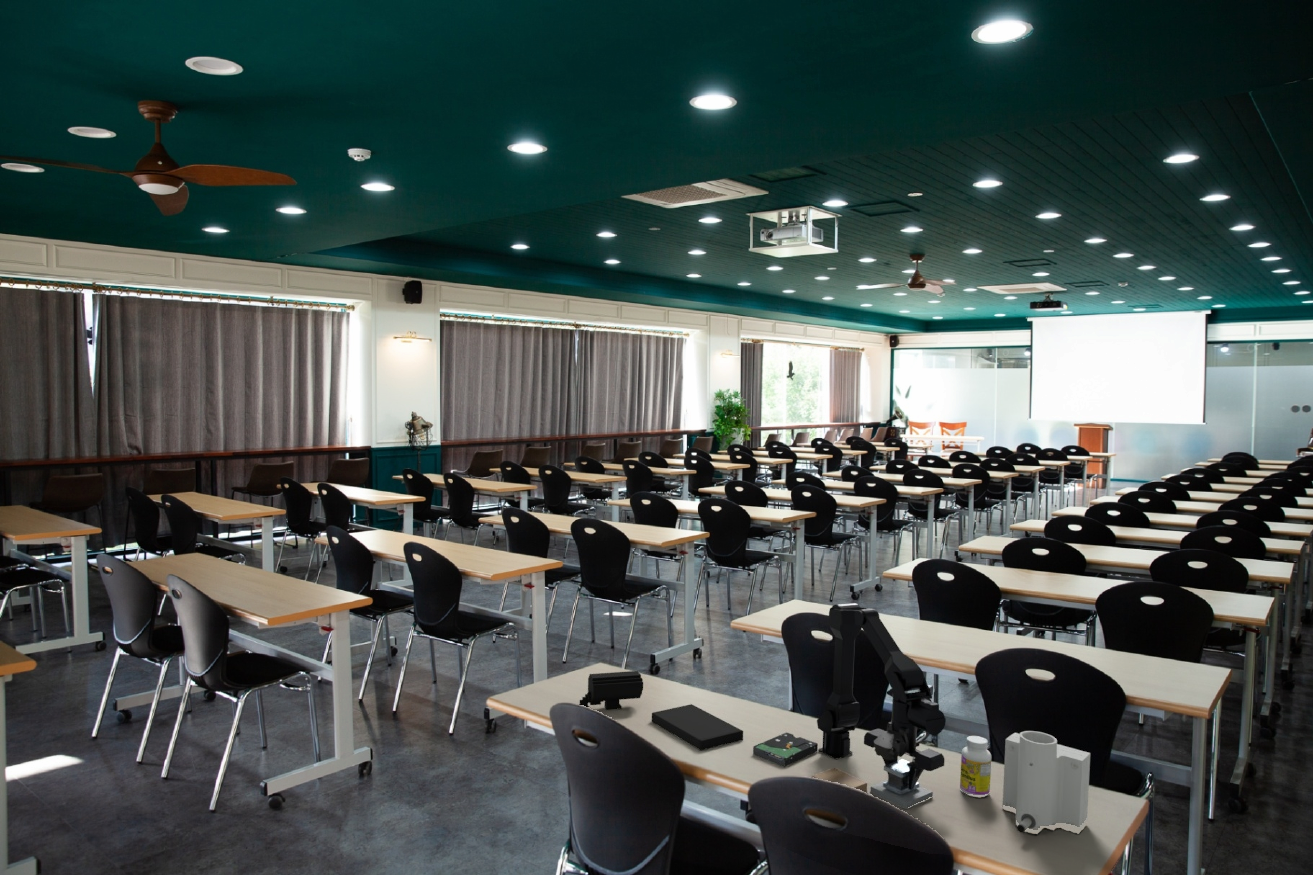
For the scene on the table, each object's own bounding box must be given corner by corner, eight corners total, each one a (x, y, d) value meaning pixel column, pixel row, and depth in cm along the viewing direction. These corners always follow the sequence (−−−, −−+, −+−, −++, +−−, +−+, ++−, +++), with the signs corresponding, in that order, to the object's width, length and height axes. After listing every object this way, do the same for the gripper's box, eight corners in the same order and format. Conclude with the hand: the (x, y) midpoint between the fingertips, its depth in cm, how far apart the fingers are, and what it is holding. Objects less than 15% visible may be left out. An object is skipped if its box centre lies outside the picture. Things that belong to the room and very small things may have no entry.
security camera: (577, 706, 251) (578, 673, 250) (637, 702, 256) (638, 669, 256) (582, 715, 244) (583, 680, 244) (643, 710, 249) (645, 676, 249)
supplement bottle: (953, 788, 204) (956, 735, 203) (975, 785, 206) (978, 732, 205) (973, 801, 197) (975, 746, 197) (995, 797, 200) (998, 743, 199)
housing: (901, 779, 203) (902, 759, 203) (919, 787, 199) (920, 766, 199) (883, 786, 199) (883, 765, 199) (900, 795, 195) (901, 773, 195)
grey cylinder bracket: (1087, 825, 187) (1091, 735, 187) (1060, 857, 173) (1065, 760, 173) (1011, 800, 198) (1015, 716, 197) (981, 828, 184) (985, 738, 183)
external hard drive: (700, 752, 221) (701, 741, 221) (651, 723, 241) (651, 712, 240) (742, 741, 229) (743, 730, 229) (691, 714, 249) (692, 704, 248)
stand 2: (870, 792, 200) (870, 786, 200) (896, 782, 206) (896, 776, 206) (906, 809, 192) (906, 803, 192) (932, 798, 198) (932, 791, 198)
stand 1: (811, 783, 204) (812, 775, 204) (834, 775, 209) (834, 767, 209) (844, 799, 196) (844, 791, 196) (866, 791, 201) (867, 782, 201)
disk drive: (785, 742, 231) (752, 756, 220) (786, 731, 230) (752, 745, 220) (818, 753, 223) (785, 769, 213) (818, 743, 223) (785, 758, 213)
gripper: (850, 713, 201) (847, 778, 201) (917, 740, 186) (914, 810, 187) (880, 704, 208) (877, 767, 208) (947, 729, 193) (944, 797, 194)
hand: (901, 785), depth 199 cm, fingers closed on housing, 5 cm apart
